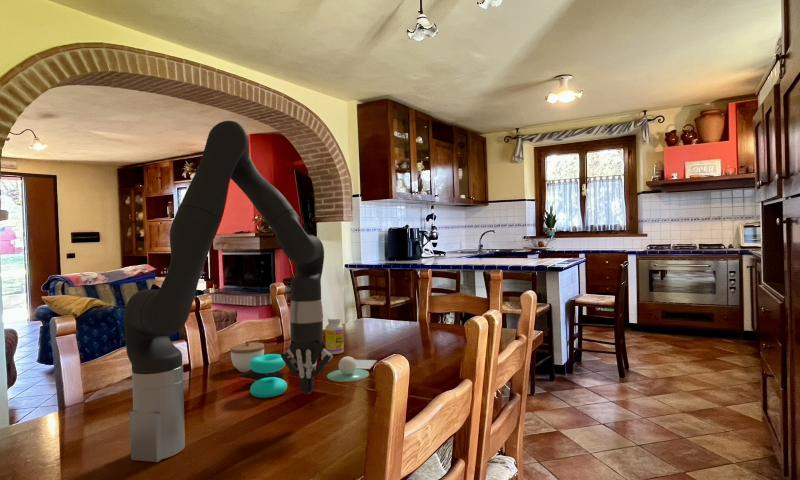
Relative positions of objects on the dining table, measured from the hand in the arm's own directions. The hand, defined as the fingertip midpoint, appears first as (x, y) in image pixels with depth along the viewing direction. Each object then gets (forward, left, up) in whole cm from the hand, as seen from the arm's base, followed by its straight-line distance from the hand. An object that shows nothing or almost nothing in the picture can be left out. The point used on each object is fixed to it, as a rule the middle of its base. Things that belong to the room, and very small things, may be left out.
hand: (307, 392), depth 109 cm
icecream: (+26, +25, -7) cm, 36 cm away
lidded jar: (+38, +37, -7) cm, 54 cm away
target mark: (+35, +1, -7) cm, 36 cm away
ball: (+36, +2, -4) cm, 36 cm away
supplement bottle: (+62, +15, -7) cm, 64 cm away
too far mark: (+47, +1, -7) cm, 48 cm away
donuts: (+17, +19, -7) cm, 26 cm away
